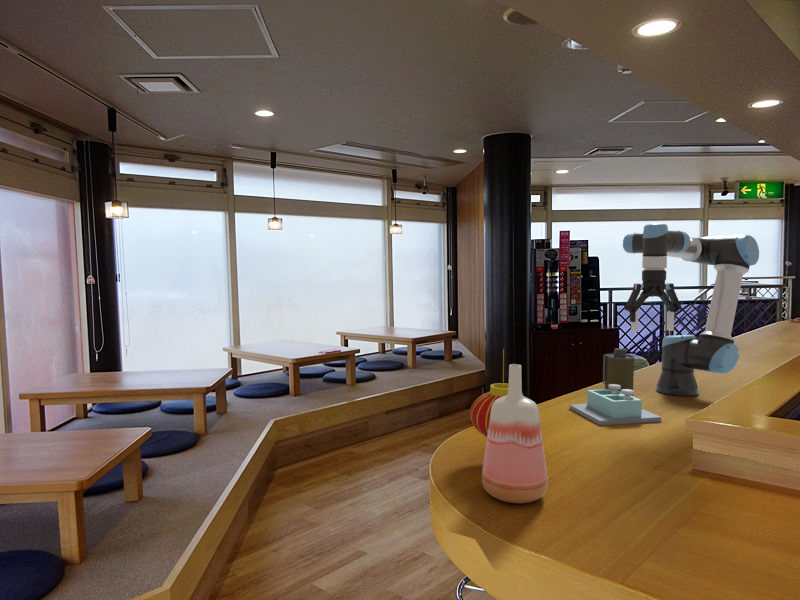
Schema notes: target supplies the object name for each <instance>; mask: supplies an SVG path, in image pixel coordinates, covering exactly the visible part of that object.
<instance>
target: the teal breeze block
mask: <svg viewBox="0 0 800 600" xmlns="http://www.w3.org/2000/svg"><path fill="white" fill-rule="evenodd" d="M624 398H625V394H622V393H621V391H618V390H617V393H614V394H612V389H605V388H603V389H601V388H600V389H587V390H586V404H587V406H589V407H591V408H593V409H595V410H597V411H599V412H601V413H603V414H605V415H607V416H609V417H611V418H623V417H640V416H641V412H642V409H643V407H642V406H643V405H642V404H643V400H642V399H640V398H638V397H635V396H634V395H633V396H631V395H630V399H627V400H624Z"/></svg>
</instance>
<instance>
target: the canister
mask: <svg viewBox="0 0 800 600" xmlns="http://www.w3.org/2000/svg"><path fill="white" fill-rule="evenodd" d="M613 350H614V351H613V353H606V354H603V359H602V360H603V361H602V363H603V365H602V384H604V389H609V388H608V385H609V384H617V385H620V386H621V389H619V390H618V391H621V390H622V389H630V390H634V371H635V358H636V357H635V355H631V354H627V352H628V349H626V348H620V347H619V348H617V347H616V348H614V349H613ZM631 396H633V397H634V395H631Z"/></svg>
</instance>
